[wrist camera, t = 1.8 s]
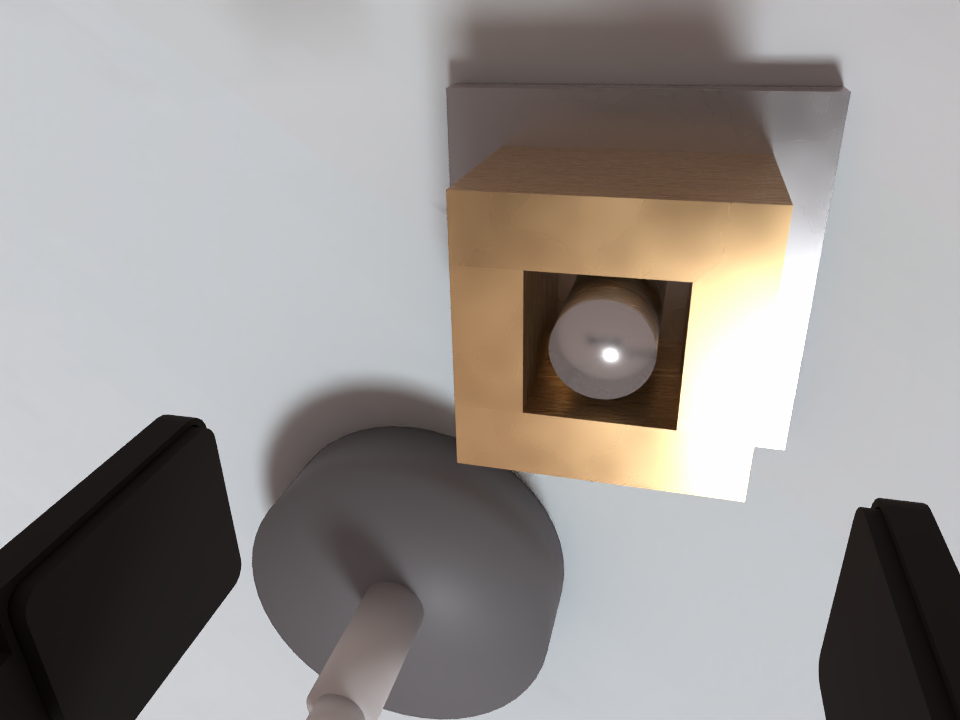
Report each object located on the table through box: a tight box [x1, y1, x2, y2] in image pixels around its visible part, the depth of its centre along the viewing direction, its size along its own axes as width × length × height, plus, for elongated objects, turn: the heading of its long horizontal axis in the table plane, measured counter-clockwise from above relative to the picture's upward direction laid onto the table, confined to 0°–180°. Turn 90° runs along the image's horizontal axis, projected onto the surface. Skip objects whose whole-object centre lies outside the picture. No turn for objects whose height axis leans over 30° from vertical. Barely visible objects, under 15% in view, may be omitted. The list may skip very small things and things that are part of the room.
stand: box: [446, 83, 851, 450], centre depth 20 cm, size 10×10×6 cm
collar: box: [446, 146, 793, 502], centre depth 19 cm, size 7×7×5 cm
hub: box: [252, 427, 564, 720], centre depth 25 cm, size 11×11×8 cm
